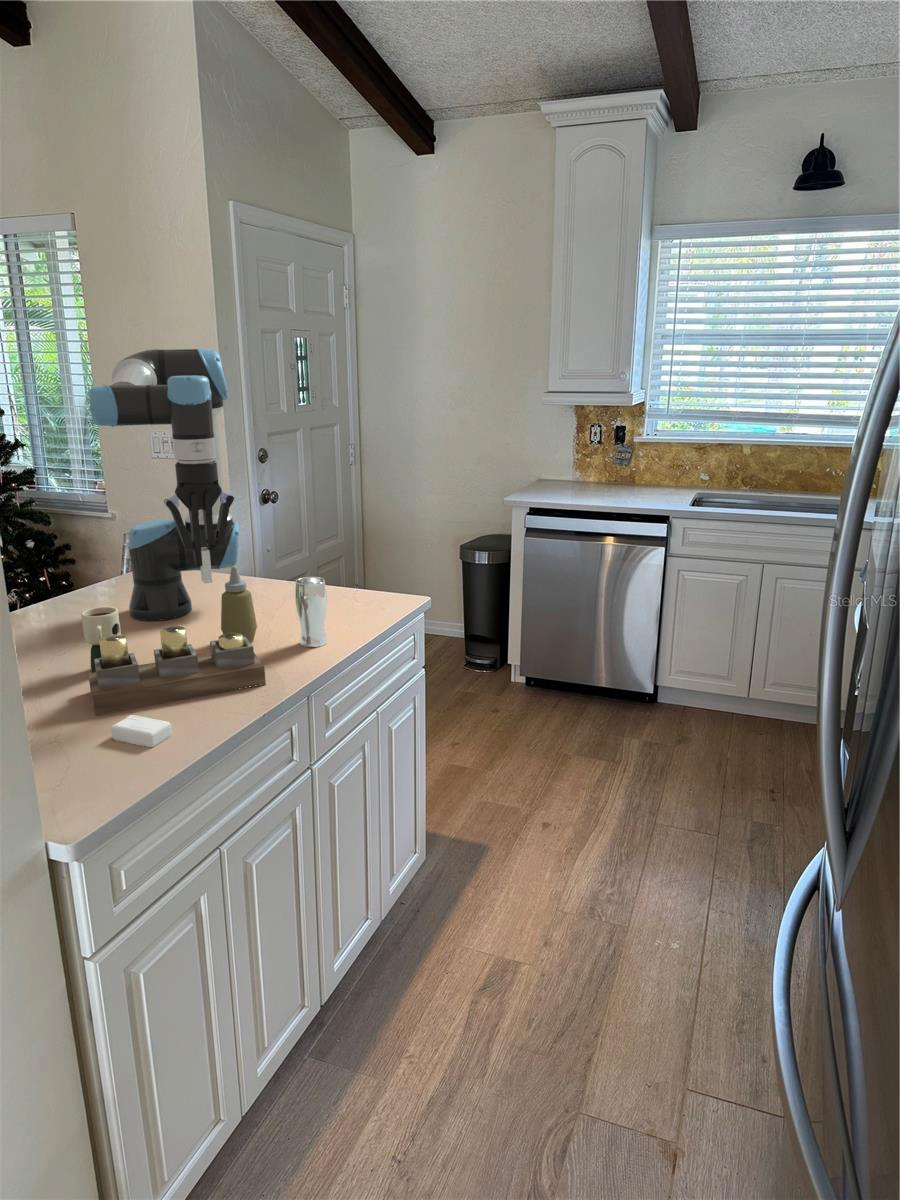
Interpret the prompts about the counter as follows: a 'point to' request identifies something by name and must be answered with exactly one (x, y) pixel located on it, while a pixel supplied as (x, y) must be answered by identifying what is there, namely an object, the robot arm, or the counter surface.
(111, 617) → the character mug
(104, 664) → the knob
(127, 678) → the mount
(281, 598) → the counter surface
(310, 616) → the beer glass
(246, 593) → the squeeze bottle
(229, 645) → the knob
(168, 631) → the knob middle
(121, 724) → the soap
